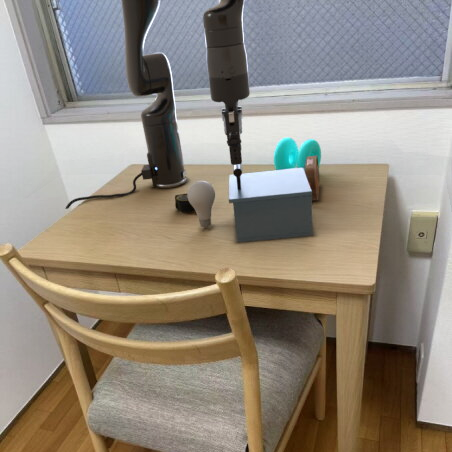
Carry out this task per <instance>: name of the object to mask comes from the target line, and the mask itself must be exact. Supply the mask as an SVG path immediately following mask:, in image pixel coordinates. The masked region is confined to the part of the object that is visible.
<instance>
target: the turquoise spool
mask: <svg viewBox="0 0 452 452" xmlns="http://www.w3.org/2000/svg"><path fill="white" fill-rule="evenodd" d="M321 150H322V149H321V146H320V143H319V142H318V141H317V140H316V139H313V138H309V139H307V140H305V141H304V142H302V143H301V145H300V147H299V148H298V144H297V143H296V141H295V140H294V139H293V138H292V137H289V136H287V137H284V138H282V139H280V140H279V142H278V143H277V145H276V147H275V150H274V153H273V166H274V168H275V170H283V169H293V168H302V167H303V169H304V172H305V163H306V158H307V157H309V156H316V155H317V157H318V166H319V167H320V165H321V161H322V151H321Z"/></svg>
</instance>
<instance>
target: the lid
mask: <svg viewBox="0 0 452 452" xmlns="http://www.w3.org/2000/svg"><path fill="white" fill-rule="evenodd" d="M228 179H229V180H228V203H229V204H233V203H237V202H247V201H257V200H267V199H277V198H287V197H297V196H307V195H312V190H311V188H310V185H309V182H308V180H307V177H306V174H305V172H304V169H303V167H302V168H297V167H295V168H293V169H283V170H276V169H275V170H266V171H265V170H264V171H255V172H246V173H245V172H244V173H243V162H242V163H241V164H238V165H232V174H229V176H228Z"/></svg>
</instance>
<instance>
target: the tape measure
mask: <svg viewBox="0 0 452 452" xmlns="http://www.w3.org/2000/svg"><path fill="white" fill-rule="evenodd" d="M187 193H188V192H187ZM187 193H180V194H176V195H174V200H175V202H174V204H175V205H174V206H175V209H176V210H177V211H178V212H180V213H184V214H185V213H188V214H190V213H195V212H196V211H195V209H194V207H193V206H192V205H191V204H190V202H189V200H188V196H187Z"/></svg>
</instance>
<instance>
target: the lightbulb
mask: <svg viewBox="0 0 452 452" xmlns="http://www.w3.org/2000/svg"><path fill="white" fill-rule="evenodd" d="M187 196H188V200H189V202H190V204H191V205H192V206H193V207H194V209H195V212H196V217H197V219H198V221H199V226H200V227H201V228H204V229H208V228H209V227H211V225H212V207H213V205H214V202H215V199H216V191H215V188H214V186H213V185H212V184H211V183H210V182H208V181H205V180H196V181H194V182H192V184H191V185H190V186H189V187H188V189H187Z"/></svg>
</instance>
